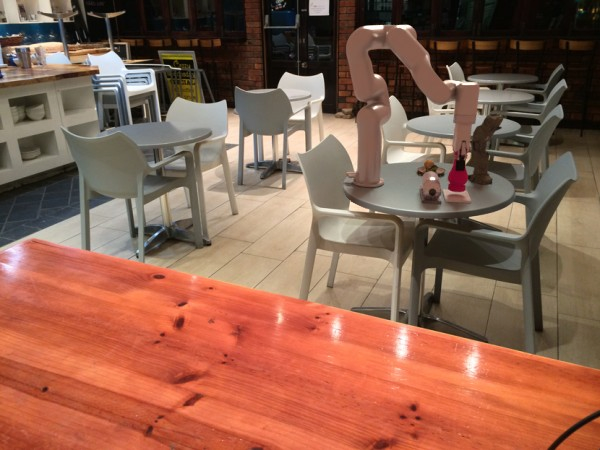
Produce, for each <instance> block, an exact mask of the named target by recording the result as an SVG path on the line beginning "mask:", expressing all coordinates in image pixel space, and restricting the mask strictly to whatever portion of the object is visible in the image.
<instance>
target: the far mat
mask: <svg viewBox="0 0 600 450" xmlns="http://www.w3.org/2000/svg"><path fill="white" fill-rule="evenodd" d="M442 194H443V198H444V202H445V203H460V204H461V203H466V204H472V199H471V197H470V194H469V192H468V189H465V191H464V192H452V191H450V190H448V188H446V189H445V188H443V189H442Z"/></svg>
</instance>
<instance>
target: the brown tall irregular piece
mask: <svg viewBox="0 0 600 450" xmlns="http://www.w3.org/2000/svg"><path fill="white" fill-rule="evenodd" d="M503 121H504V117H503V116H502V115H501V116H500V115H498V113H497V112H496V113H495V112H494V113H490V114H488V115H486V117H484V119H483V122H482V123H481V124H480V125H478V126H476V127H475V129H474V131H473V133H472V140H470V144H471V145H470V148H471V155H472V165H473V170H472V173H471V174H468V180H469V181H473V182H474V183H477V184H480V185H486V184H487V185H488V184H490V183H492V182H493V178H492V177H491V175H490V173H489V171H488V164H489V160H490V153H489V152H488V151H487V150H486V149H487V147H488V146H487V143H488V142H490V139H491V138H492V137H493V135H494V134H495V133H496V131H499V130H502V129H503V127H502V126H501V125H502V123H503Z"/></svg>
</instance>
